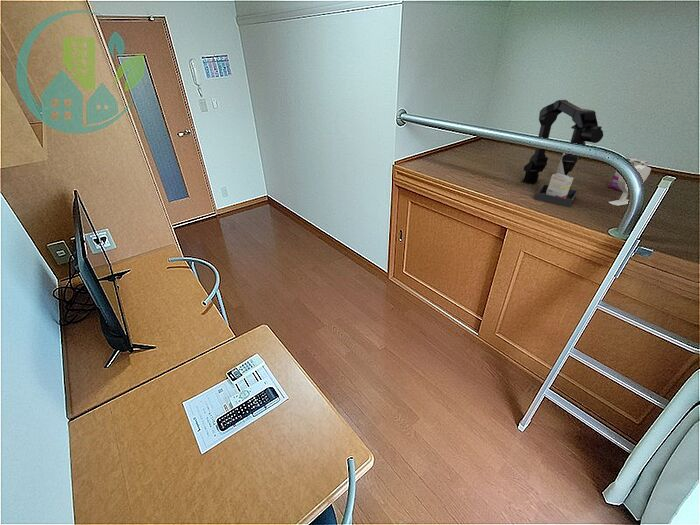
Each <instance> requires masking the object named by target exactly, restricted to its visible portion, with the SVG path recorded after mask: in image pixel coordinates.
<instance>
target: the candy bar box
mask: <svg viewBox="0 0 700 525" xmlns="http://www.w3.org/2000/svg"><path fill="white" fill-rule="evenodd" d="M624 158H626V159H627V160H628V161H629V162H630V163H631V164H632V165H633V166H634V167H635V166H637V165H643V166H647V167H649V165H650V161H647V160H643V159H639V158H635V157H630V156H624ZM619 176H620V174H619V173H618V172H617V171H616V170H615V172H614V175H613V176H612V179H611V181H610V184H609V186H608V188H611V189H614V190H617V191H620V192H623V191H622V190H621V189H620V188H619V186H618V179H619Z"/></svg>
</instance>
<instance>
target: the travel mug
mask: <svg viewBox="0 0 700 525" xmlns="http://www.w3.org/2000/svg"><path fill="white" fill-rule="evenodd" d="M564 155H565V153H563V152H562V155H561V159H560V161H559V164H558V167H557V170H556V173H555V174H557V173H560V174H563V175H565V174H564V168H563V163H562V156H564ZM569 174H570V172H569V173H568V175H566V176H569Z"/></svg>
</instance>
